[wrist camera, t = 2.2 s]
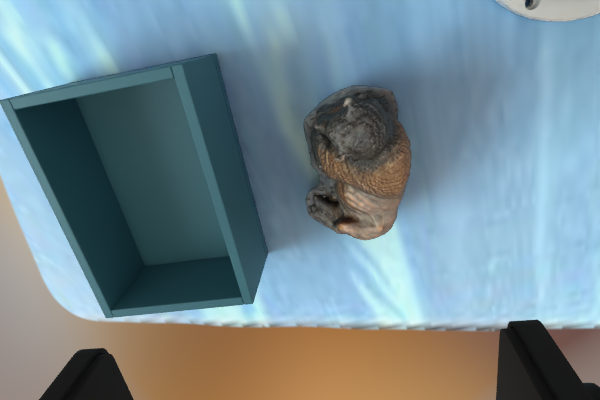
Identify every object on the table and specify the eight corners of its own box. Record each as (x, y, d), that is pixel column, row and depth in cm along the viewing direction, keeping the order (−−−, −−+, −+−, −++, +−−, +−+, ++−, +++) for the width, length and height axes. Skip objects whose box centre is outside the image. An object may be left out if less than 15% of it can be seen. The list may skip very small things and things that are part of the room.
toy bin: (216, 53, 28) (182, 63, 22) (268, 253, 35) (253, 304, 29) (67, 83, 30) (-2, 100, 24) (144, 268, 37) (105, 318, 31)
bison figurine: (397, 220, 32) (421, 299, 23) (312, 225, 33) (303, 303, 24) (396, 67, 27) (425, 92, 18) (296, 78, 28) (276, 106, 19)
